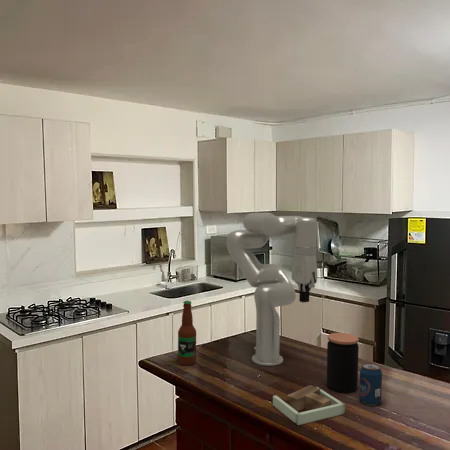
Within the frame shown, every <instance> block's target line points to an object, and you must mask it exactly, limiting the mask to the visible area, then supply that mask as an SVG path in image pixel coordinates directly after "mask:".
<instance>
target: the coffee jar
mask: <svg viewBox="0 0 450 450" xmlns="http://www.w3.org/2000/svg"><path fill="white" fill-rule="evenodd" d="M359 339H360V338H359V337H358V336H357V335H355V334H351V333H347V332H333V333H330V334H328V335H327V340H328V342H327V349H326V352H327V353H326V384H327V387H328V388H329V389H330V390H332V391H335V392H337V393H345V394H348V393H352V392H354V391H355V390H356V389H357V388H358V385H359V381H358V378H359Z"/></svg>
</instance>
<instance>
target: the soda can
mask: <svg viewBox="0 0 450 450" xmlns="http://www.w3.org/2000/svg"><path fill="white" fill-rule="evenodd" d="M382 384H383V371H382V369H381V366H380V365H379V364H377V363H372V362H364V363H362V365H361V368H360V369H359V391H358V392H359V395H358V396H359V399H360V401H361V402H362V403H363V404H365V405H367V406H377V405H379V404H380V403H381V401H382V391H383V390H382V389H383V387H382Z"/></svg>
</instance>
